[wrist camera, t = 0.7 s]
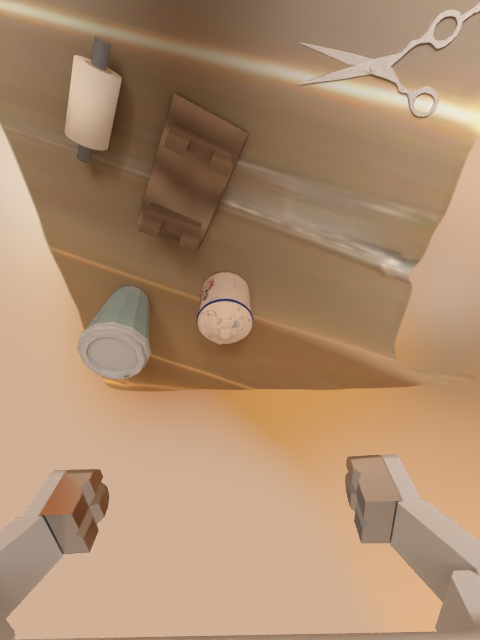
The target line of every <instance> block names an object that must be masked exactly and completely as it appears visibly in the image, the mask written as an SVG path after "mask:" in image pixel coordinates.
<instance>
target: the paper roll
mask: <svg viewBox="0 0 480 640" xmlns="http://www.w3.org/2000/svg"><path fill="white" fill-rule="evenodd" d="M110 47H111V45H110V44H109V43H108V42H106V41H104V40H102V39H100V38H98V37H95V40H94V46H93V53H92V60H91V59H88V58H85V57H82V56H78V55H74V58H73V66H72V75H71V83H70V91H69V99H68V108H67V116H66V124H65V135H66V136H67V137H68V138H69V139H71V140H72V141H74V142H76V143H78V144H79V147H78V154H77V158H78V159H79V160H80V161H83V162H86V163H90V162H91V156H92V150H93V149H94V150H107V149H108V145H109V140H110V136H111V131H112V126H113V121H114V116H115V111H116V106H117V101H118V96H119V91H120V86H121V81H122V78H121V76H120V75H118V74H117V73H116V72H114V71H113V70H111V69H109V68H107V64H108V58H109V52H110Z"/></svg>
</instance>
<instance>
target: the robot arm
mask: <svg viewBox="0 0 480 640" xmlns="http://www.w3.org/2000/svg"><path fill="white" fill-rule="evenodd" d="M346 466H347V469H348V473H347V474H346V479H345V484H346V493H347V497H348V501H349V505H350V507H351V508H352V509H353V510H354V511H355V520H354V521H355V525H356V528H357V531H358V534H359V538H360V541H361V543H391V546H392V547H393V548H394V549H395V550H396V551H397V552H398V554H399V555H400V556H401V557H402V558H403V559H404V560H405V561H406V562H407V563H408V565H409V566H410V567H411V568H412V569H413V570H414V571H415V572H416V573H417V574H418V576H419V577H420V578H421V579H422V580H423V581H424V582H425V583H426V584H427V586H428V587H429V588H430V589H431V590H432V591H433V592H434V593H435V594H436V595H437V597H438V598H439V599H440V600H441V601H442V602H443V605H442V608H441V611H440V614H439V617H438V621H437V624H436V627H435V628H436V630H437V632H405V633H403V632H401V633H347V634H294V635H239V636H237V635H235V636H184V637H182V636H181V637H132V638H130V637H129V638H78V639H77V638H76V639H23V640H480V541H479V540H478V539H477V538H475V537H474V536H473V535H472V534H470V533H469V532H468V531H466V530H465V529H464V528H462V527H461V526H460V525H458V524H456V522H454V521H453V520H452V519H450V518H449V517H448V516H447V515H445V514H444V513H443V512H441V511H440V510H439V509H437V508H436V507H435V506H433V505H432V504H431V503H430V502H428V501H422V500H421V498H420V496H419V494H418V492H417V490H416V488H415V486H414V485H413V483H412V481H411V479H410V477H409V475H408V473H407V471H406V470H405V468H404V466H403V464H402V462H401V460H400V458H399V456H397V455H396V454H392V455H391V454H390V455H368V456H352V457H348V458H347V462H346ZM102 478H103V475H102V473H101V471H100V470H98V469H91V470H55V471H53V472H52V473H50V474H49V475H48V477H47V478H46V480H45V482H44V483H43V485H42V486H41V488H40V489H39V491H38V492H37V494H36V495H35V497H34V499H33V500H32V502H31V503H30V505H29V506H28V508H27V509H26V511H25V513H24V514H23V516H22V517H17V518H15V519H14V520H13V521H11V522H10V523H9V524H8V525H6V526H5V527H4V528H2V529H1V530H0V640H13V639H14V637H15V633H14V630H13V629H12V627H11V626H10V624H9V623H8V622H7V620H6V618H7V617H8V616H9V615H10V613H11V612H12V611H13V610H14V609H15V608H16V607H17V606H18V605H19V604H20V602H21V601H22V600H23V599H24V598H25V597H26V596H27V595H28V593H29V592H30V591H31V590H32V589H33V588H34V587H35V586H36V585H37V584H38V583H39V582H40V581H41V579H42V578H43V577H44V576H45V575H46V574H47V573H48V572H49V571H50V570H51V568H52V567H53V566H54V565H55V564H56V563H57V562H58V561H59V560H60V559H61V558H62V556H63V554H73V553H88V552H90V550H91V548H92V545H93V543H94V540H95V538H96V536H97V533H98V527H97V523H98V522H99V521H100V520H101V519H103V518H104V516H105V514H106V511H107V508H108V501H109V492H108V488H107V486H106V485H104V484H103V483H102V482H101V480H102Z"/></svg>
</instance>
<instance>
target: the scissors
mask: <svg viewBox="0 0 480 640" xmlns="http://www.w3.org/2000/svg"><path fill="white" fill-rule="evenodd" d="M478 11H480V3H478V4H477V5H476V6H475V7H474V8H473V9H471V10H470V11H468V12H466V13H465V14H463V15H462V16H461V12H458V11H456V10H448V11H444V12H442V13H441V14H440V15H439V16H438V17H437V18H435V19H434V21H433V22H432V24H431V25H430V27H429V29H428V31H427V32H426V33H425V34H424V35H423V36H422V37H421V38H420V39H419V40H411V42H410V43H409V45H408V46H407V47H406V48H405V49H404V50H403V51H402V52H401V53H399V54H394V55H390V56H385V57H381V58H377V59H370V58H367V57H363V56H360V55H356V54H353V53H349V52H345V51H341V50H336V49H331V48H326V47H321V46H317V45H313V44H307V43H301V44H303V45H305V46H307V47H310V48H312V49H314V50H316V51H319V52H321V53H323V54H325V55H328V56H330V57H333V58H335V59H338V60H340V61H342V62H344V63H346V64H349V65H354V66H351V67H348V68H345V69H342V70H339V71H335V72H332V73H330V74H327V75H324V76H321V77H318V78H315V79H312V80H309V81H306V82H304V83H301V84H298V85H302V84H309V83H317V82H324V81H332V80H339V79H346V78H352V77H358V76H363V75H369V74H373V75H376V76H379V77H382V78H385V79H387V80H390V81H392V82H395V84H396V85H397V87H398V91H399V92H402V93H407V95H408V99H409V107H410V109H411V111H412V112H413V114H415V115H416V116H421V117H424V116H427V115H429V114H431V113H432V112H433V111H434V110H435V109H436V107H437V105H438V101H439V99H438V94H437V92H436V91H435V90H434V89H433V88H431V87H428V86H424V87H422V88H420V89H419V90H417V91H415V92H414V91H413V90H406V89H405V87H404V86H403V85H402V84H401V83H400V81H399V80H398V78H397V76H396V73H395V72H394V70H393V69H392V67H391V66H392V65H393V64H394V63H395V62H396V61H398V60H399V59H400V58H401V57H402V56H403V55H404V54H405V53H407V52H408V51H409V50H410V49H411V48H412V47H414V46H416V45H418V44H419V43H427V42H429V43H431V44H432V45H433V46H434V47H435V48H436V49H439V48H441V47H444V46H446V45H447V44H448V43H450V42H451V41H452V40H453V39H454V38H455V37H456V36H457V34H458V33H459V31H460V28H461V25H462V22H463V21H464V20H465V19H467V18H468V17H469V16H471V15H472V14H473V13H477V12H478ZM447 16H452V17H455V19H456V23H457V25H456V28H455V31H454V33H453V34H452V35H451V36H450V37H449V38H448V39H446V40H442V41H438V40H436V39H435V38H434V36H433V33H434V29H435V26H436V24H437V23H438V22H439V21H440V20H441V19H443V18H444V17H447ZM298 43H300V42H298ZM422 93H428V94H431V96H432V97H433V98H434V102H433V105H432V107H431V109H430V110H429V111H427V112H425V113H418V112H417V111H416V109H415V108H414V101H415V98H416V97H417V96H418V95H420V94H422Z"/></svg>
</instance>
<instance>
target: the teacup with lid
mask: <svg viewBox="0 0 480 640" xmlns="http://www.w3.org/2000/svg"><path fill="white" fill-rule="evenodd" d="M197 325H198V328H199V330H200V332H201V333H202V334H203V336H205V337H206V338H207V339H209V340H211V341H213V342H216V344H219V345H221V344H229V343H234V342H237V341H240V340H241V339H243V338H244V337H246V336H247V335H248V333H249V332H250V330H251V328H252V326H253V316H252V313H251V306H250V294H249V287H248V285H247V283H246V282H245V280H244V279H242V278H241V277H240V276H238V275H236V274H233V273H228V272H222V273H217V274H214V275H212V276H211V277H209V278H208V279H207V280H206V281H205V282H204V284H203V286H202V291H201V300H200V309H199V313H198V315H197Z"/></svg>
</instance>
